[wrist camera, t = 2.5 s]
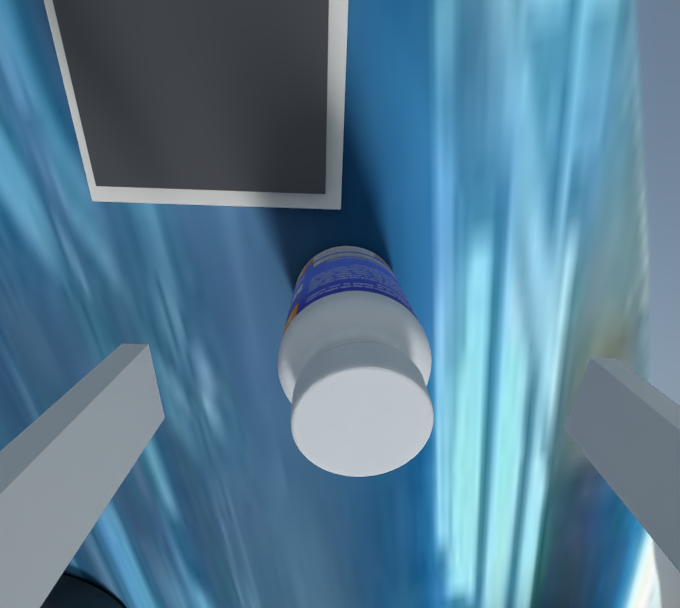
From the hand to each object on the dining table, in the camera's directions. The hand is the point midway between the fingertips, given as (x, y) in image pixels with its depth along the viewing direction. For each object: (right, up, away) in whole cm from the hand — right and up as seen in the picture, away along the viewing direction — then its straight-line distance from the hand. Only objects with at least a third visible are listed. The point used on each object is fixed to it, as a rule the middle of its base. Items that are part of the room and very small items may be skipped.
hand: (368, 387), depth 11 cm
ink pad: (-6, +12, +4) cm, 14 cm away
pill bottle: (0, +3, +8) cm, 9 cm away
